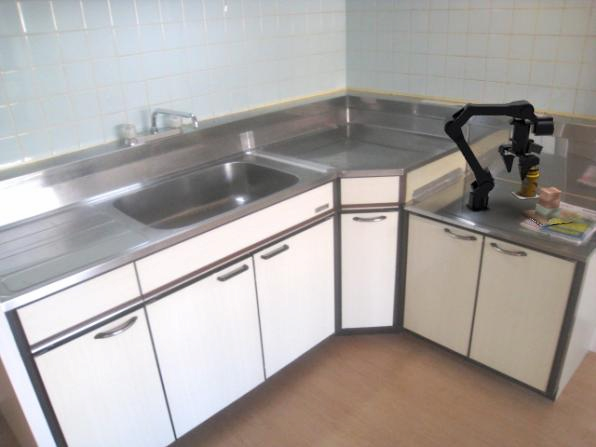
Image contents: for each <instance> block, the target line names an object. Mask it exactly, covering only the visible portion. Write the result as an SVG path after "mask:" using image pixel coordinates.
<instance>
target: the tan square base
mask: <svg viewBox="0 0 596 447" xmlns="http://www.w3.org/2000/svg"><path fill="white" fill-rule="evenodd" d="M535 204H536V205H535V209H529V210H523V211H522V214H523V215H524V216H525V217H526V218H528V219H529V218H531V219H533V220H534V221H536V222H538V223H539V224H541V225H543V224H547V223H548V222H549V220H550V219H552V218H567V219H569V220H573V219H572V218H570V217H568V216H567V215H565V214H563V213H562V207H561V206H559V207H558V208H551V209H546V208H544V207H542V206H541V205H539V204H538V202H537V203H535ZM531 219H530V220H531ZM534 221H533V222H534Z"/></svg>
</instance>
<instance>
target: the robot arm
mask: <svg viewBox="0 0 596 447" xmlns="http://www.w3.org/2000/svg"><path fill="white" fill-rule="evenodd" d="M474 116H475V117H477V116H479V117H480V116H481V117H482V116H483V117H485V116H487V117H488V116H493V117H495V116H496V117H497V116H499V117H502V116H504V117H511V119H509V120H508V121H507V123H508V124H509V126H513V127H512V136H511V137H509V139H508V141H510V143H507V144H500V145H499V146H498V151H497V152H498V153H499V156H500V157H501V160H502V162H503V164H504V167H505V169H506V172H507V173H508V174H509V173H511V172H512V169H513V166H514V165H513V163H514V160H515V158H516V157H517V158H518V163H517V166H518V167H517V168H518V174H519V178H520V181H521V182H522V181H523V180H524V179H525V177H526V176H527V174H528V172H529V170H530V169H531V168H532V167H533V166H540V164H541V163H540V162H541V158H540V157H539V156H540V155H541V153H542V151H543V148H544V146H543V145H541V144H539V143H536V142H535V139H532V138H530V134H533V136H534V137H547V136H548V137H551V136H553V134H554V133H555V127H554V117H553V116H552V115H551V116H537V115H536V114H535V107H534V105H533V104H532V103H530V101H528V100H526V99H520V100H514V101H511V102H506V103H471V102H468V103H466V104H464V106H463V107H461V108H460V109H459V110H457V111H456V112H454V113H453V114H452V115H451V116H448V117H445V118H444V120H443V121H442V127H443V131H444V133H445V134H446V135H447V137H448V138H449V139H451V141H452V142H454V144H455V145H456V146H457V148H458V149H459V151H460V153H461V154H462V156H463V157H464V160H465V161H466V163H467V165H468V166H469V168H470V169H471V171H472V173H473V177H474V179H475V180H473V181H472V182H471V183H470V184H469V186H470V189H471V191H470V192H469V195H468V203H467V204H466V205H465V206H467V207H468V208H469V209H470V210H471V211H473V212H479V211H480V212H481V211H486V210H490V208H489V207H488V206H489V200H490V196H489V194H490V192H492V191H493V190H494V188H495V184H496V183H495V181H496V179H495V177H494V176H493V174H492V173H491V170H490V168H489V167H488V166H486V167H483V165H481V163H480V161H479V160H478V158H477V156H476V154H475V153H474V151H473V150H472V148H471V146H470V145H469V143H468V141H467V139H466V137H465V136H464V133H463V129H462V127H464V126H465V125H466V124H467V123H468V122H469V120H470V119H471V118H472V117H474ZM533 153H534V154H533ZM535 154H537V155H539V156H537V155H535Z"/></svg>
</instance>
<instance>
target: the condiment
mask: <svg viewBox="0 0 596 447" xmlns="http://www.w3.org/2000/svg"><path fill="white" fill-rule="evenodd" d="M539 171H540V168H539V166H538V165H536V166H533V167H532V168H531V169H530V170H529V172H528V174H527V176H526V177H525V179H524V180H523V181H521V183H520V185H521V186H520V191H511V194H513V195H514V196H516V197H517V198H519V199H520V200H525V199H537V198H539V195H540V194H537V192H538V184H539V178H540V174H539V173H540V172H539Z"/></svg>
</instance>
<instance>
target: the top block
mask: <svg viewBox="0 0 596 447" xmlns="http://www.w3.org/2000/svg"><path fill="white" fill-rule="evenodd" d="M539 190H540V191H539V194H538V195H539V197H538V202H537V203H538V204H539V205H541V206H542V207H544V208H546V209H551V208H558V207H561V199H562V191H561V190H559V189H557V188H555V187H554V186H551V187H545V188H543V187H542V188H539Z"/></svg>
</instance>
